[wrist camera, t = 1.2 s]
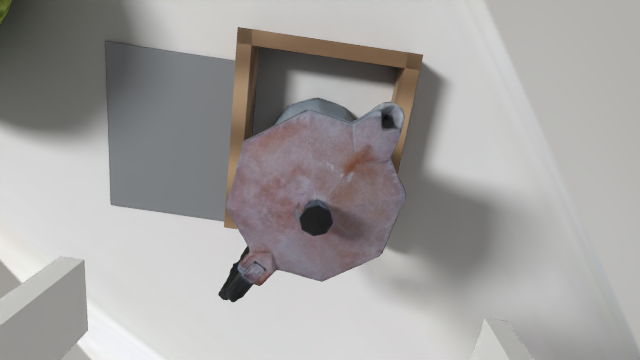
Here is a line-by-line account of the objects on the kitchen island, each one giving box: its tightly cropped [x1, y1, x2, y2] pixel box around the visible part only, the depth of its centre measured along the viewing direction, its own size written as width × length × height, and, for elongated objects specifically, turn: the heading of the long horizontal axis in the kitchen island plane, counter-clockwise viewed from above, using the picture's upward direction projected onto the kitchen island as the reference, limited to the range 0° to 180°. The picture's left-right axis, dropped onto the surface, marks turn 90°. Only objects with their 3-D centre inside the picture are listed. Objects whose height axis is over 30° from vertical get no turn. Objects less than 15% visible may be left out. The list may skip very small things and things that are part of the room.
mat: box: [105, 41, 235, 221], centre depth 36 cm, size 16×12×1 cm
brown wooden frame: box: [224, 27, 423, 229], centre depth 34 cm, size 18×15×4 cm
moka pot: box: [218, 98, 406, 302], centre depth 27 cm, size 10×15×20 cm, turn 144°
